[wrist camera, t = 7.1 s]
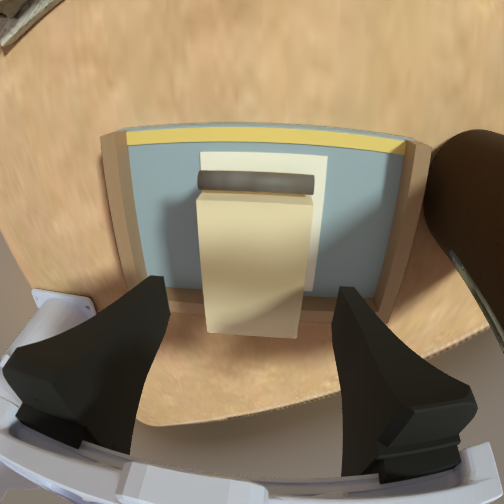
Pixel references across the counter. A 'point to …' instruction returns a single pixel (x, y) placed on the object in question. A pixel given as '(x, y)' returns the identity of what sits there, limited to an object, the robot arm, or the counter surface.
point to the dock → (269, 160)
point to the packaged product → (21, 17)
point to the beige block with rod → (254, 250)
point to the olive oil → (472, 216)
